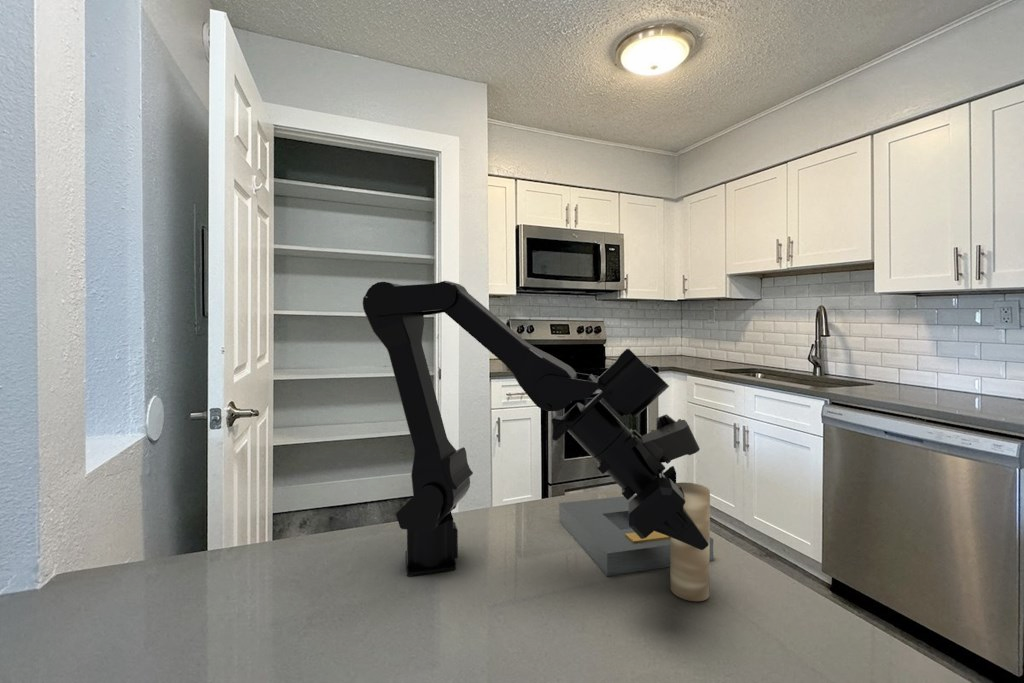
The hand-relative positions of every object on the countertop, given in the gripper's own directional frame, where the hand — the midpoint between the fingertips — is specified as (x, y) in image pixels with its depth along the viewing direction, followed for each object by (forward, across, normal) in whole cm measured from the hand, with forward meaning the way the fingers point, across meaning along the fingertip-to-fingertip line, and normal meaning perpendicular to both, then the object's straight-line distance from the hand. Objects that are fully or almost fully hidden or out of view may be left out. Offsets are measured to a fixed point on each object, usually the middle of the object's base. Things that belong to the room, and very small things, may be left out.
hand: (702, 538), depth 55 cm
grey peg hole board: (-1, +13, +11) cm, 17 cm away
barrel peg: (+4, 0, +6) cm, 7 cm away
